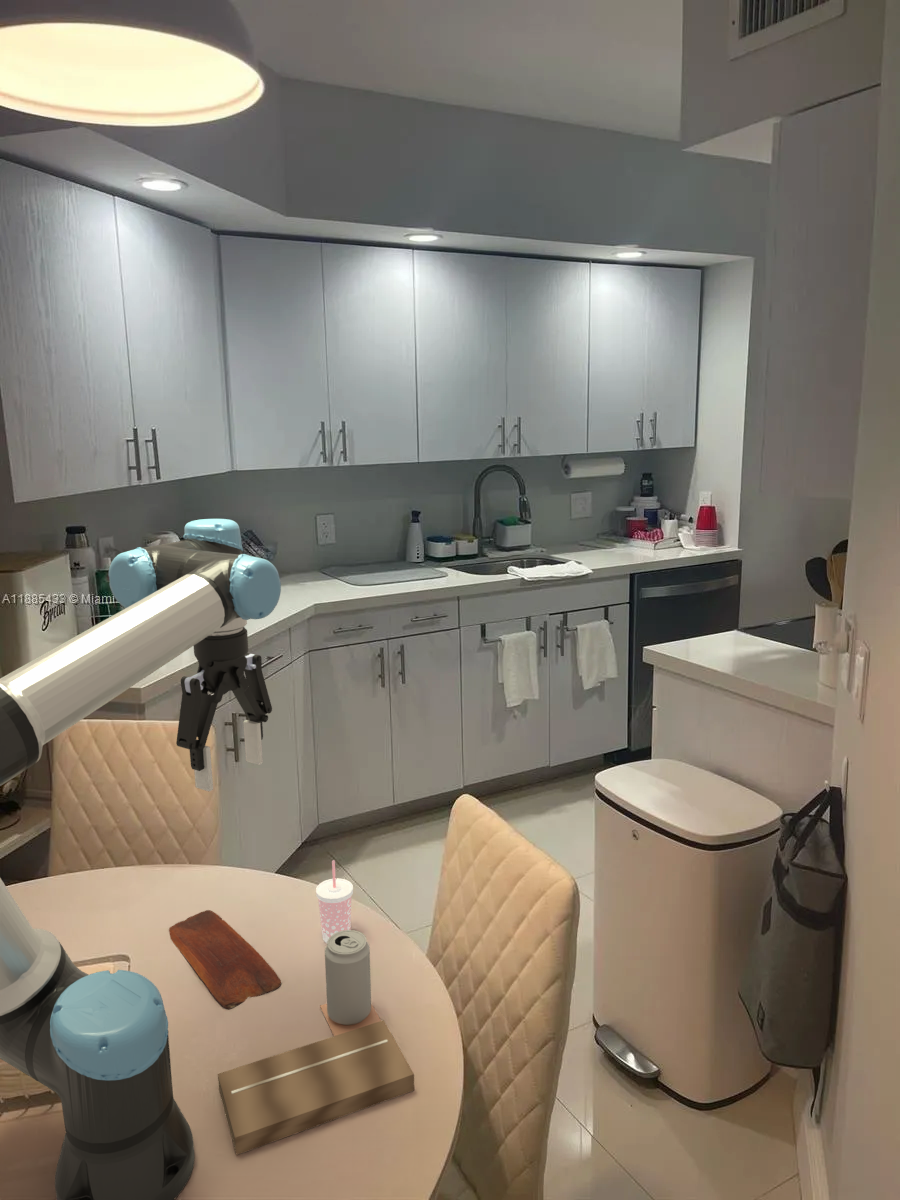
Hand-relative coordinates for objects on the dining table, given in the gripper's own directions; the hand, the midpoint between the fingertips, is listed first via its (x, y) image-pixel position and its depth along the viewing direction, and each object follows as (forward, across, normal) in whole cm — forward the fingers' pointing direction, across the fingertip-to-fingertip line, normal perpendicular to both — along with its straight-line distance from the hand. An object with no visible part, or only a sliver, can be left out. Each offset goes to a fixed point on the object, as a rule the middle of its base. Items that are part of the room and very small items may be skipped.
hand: (230, 774), depth 128 cm
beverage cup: (+34, -15, +7) cm, 38 cm away
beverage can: (+34, -1, +20) cm, 39 cm away
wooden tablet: (+34, -2, -7) cm, 35 cm away
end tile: (+34, -1, +20) cm, 39 cm away
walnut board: (+34, +13, +24) cm, 44 cm away
